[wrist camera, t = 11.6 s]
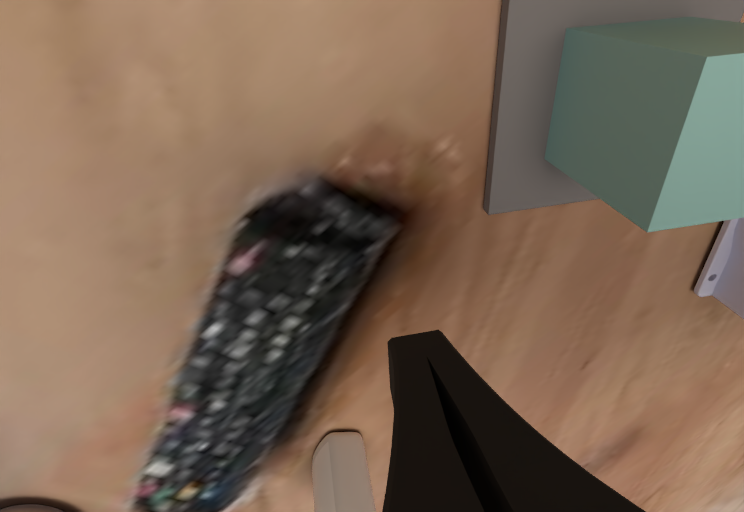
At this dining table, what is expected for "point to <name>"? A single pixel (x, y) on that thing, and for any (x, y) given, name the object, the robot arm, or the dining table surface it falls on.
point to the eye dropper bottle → (341, 475)
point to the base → (553, 89)
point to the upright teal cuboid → (654, 119)
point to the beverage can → (30, 508)
